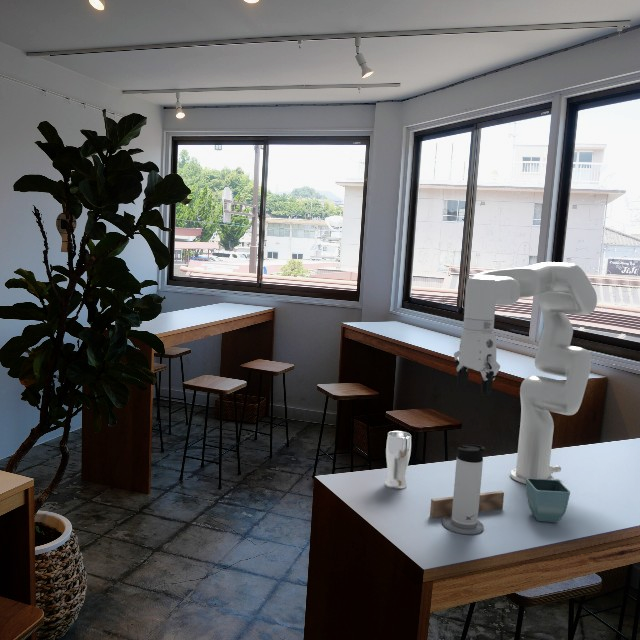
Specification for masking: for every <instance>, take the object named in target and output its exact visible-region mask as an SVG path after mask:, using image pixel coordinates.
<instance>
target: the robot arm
mask: <svg viewBox="0 0 640 640" xmlns="http://www.w3.org/2000/svg"><path fill="white" fill-rule="evenodd" d="M465 284H466V285H465V301H464V313H463V314H464V315H463V329H462V331H461V336H460V341H459V350H457V351H456V352H454V353H453V357H454V360H455V361H454V364H455V366H456V372H457V378H456V379H457V380H456V386H457V387H459V388H460V387H461V388H462V387H467V386H469V375H470V374H469V371H468V370H469V369H470V370H474V371H477V372H480V374H481V377H482V379H481V381H480V391H479V392H480V393H479V394H480V396H482V397H486V396H492V395H493V394H492V393H493V385H494V384H493V383H494V380H495V379H496V377H497V376H498V374H499V371H500V369H501V365H500V364H499V363H498V361H497V338H496V333H495V332H494V330H495V329H494V327H495V314H496V313H495V312H496V306H503V307H504V306H505V307H506V306H511V305H515V303H517V302H518V300H519V299H521V298H530V297H534V296H537V301H538V305H539V309H540V311H541V316H542V318H543V329H542V334H541V337H540V340H539V344H538V347H537V351H536V353H535V357H534V367H535V369H537V371H538V372H541V373H543V374H548V375H551V376H552V375H553V376H556V377H561V378H562V377H563V378H565V379H566V380H559V379H556V378H551V377H547V376H542V375H541V376H540V375H531V376H528V377H526V378H524V380H522V382H521V384H520V387H519V389H520V390H519V395H520V396H519V397H520V406H521V407H520V408H521V410H520V411H521V412H520V424H519V425H520V427H519V435H518V445H517V453H516V454H517V455H516V465H515V468H513V469H511V470H510V471H509V472H510V474H509V475H510V477H511V478H512V480H514V481H517V482H519V483H521V484H524V485H525V484H526V478H531V479H547V480H555V479H554V477H553V475H552V474H553V473H560V472H561V471H562V467H561V466H560V465H552V464H551V456H552V447H553V446H552V445H553V436H554V428H555V425H554V424H555V423H554V419H553V416H552V415H551V413H557V414H561V415H565V416H573V415H575V414H577V413H578V411H579V409H580V407H581V405H582V403H583V399H584V395H585V392H586V388H587V385H588V380H589V377H590V373H591V369H592V357H591V354H590V352H589V351H588V350H587V349H585V348H583V347H580V346H574V345H571V342H572V339H573V336H574V335H573V334H574V329H573V325H572V323H571V321H570V319H569V317H568V315H569V314H571V315H579V316H587V315H588V316H589V315H590V314H592V313H593V312H594V311H595V310H596V307H597V305H598V295H597V292H596V290H595V287H594V286H593V284H592V282H591V281H590V279H589V277H588V275H587V274H586V272H585V271H584V270H583V268H581V267H580V266H579V265H578V264H576V263H572V262H569V263H568V262H555V261H553V262H552V261H545V262H544V261H543V262H539V263H534V264H532V265H528V266H523V267H513V268H512V267H511V268H506V269H496V270H488V271H483V272H479V273H475V274H473V275H472V276H470V277H469V278H468V279H467V280H466V283H465ZM567 314H568V315H567ZM550 412H551V413H550Z"/></svg>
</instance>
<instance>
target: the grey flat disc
mask: <svg viewBox="0 0 640 640" xmlns="http://www.w3.org/2000/svg"><path fill="white" fill-rule="evenodd" d="M451 519H452V515H451V516H444V517H443V518H442V521H441V522H442V526H443V527H444V528H445V529H446V530H448V531H451V532H452V533H455V534H459V535H467V536H473V535H474V536H475V535H480V534H481V533H482V532H484V530H485V529H484V527H485V526H484V524H483V523H482V522H481V521H480V520H478V521H477V527H475V528H473V529H462V528H459V527H456V526H455V525H453V524H452V522H451Z"/></svg>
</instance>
